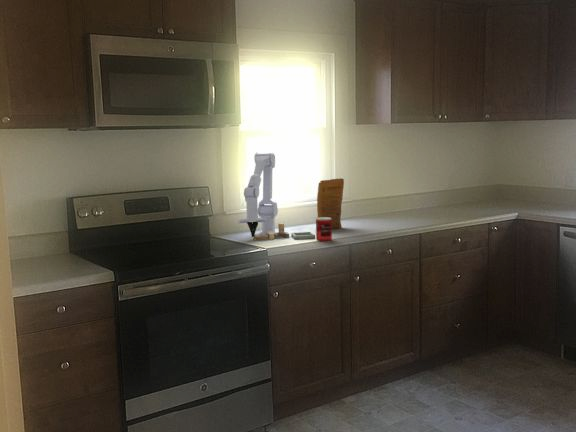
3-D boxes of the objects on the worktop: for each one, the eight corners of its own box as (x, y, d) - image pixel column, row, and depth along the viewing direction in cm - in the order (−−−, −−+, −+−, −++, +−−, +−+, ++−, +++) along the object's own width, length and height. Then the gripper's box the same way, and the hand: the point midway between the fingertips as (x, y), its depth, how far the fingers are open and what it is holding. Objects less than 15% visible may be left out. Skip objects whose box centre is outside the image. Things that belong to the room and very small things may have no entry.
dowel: (278, 236, 338) (277, 223, 337) (284, 236, 338) (283, 223, 338) (279, 237, 335) (278, 224, 334) (284, 237, 335) (284, 223, 335)
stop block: (267, 237, 337) (267, 231, 336) (272, 237, 337) (272, 231, 337) (269, 239, 329) (269, 233, 328) (274, 239, 329) (274, 233, 329)
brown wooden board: (253, 238, 336) (253, 234, 336) (265, 238, 337) (265, 233, 337) (255, 241, 327) (255, 236, 327) (267, 240, 328) (267, 236, 328)
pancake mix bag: (348, 227, 364) (347, 178, 361) (320, 231, 354) (318, 180, 351) (341, 226, 370) (340, 177, 366) (313, 229, 360) (312, 179, 357)
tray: (291, 236, 339) (291, 232, 338) (310, 235, 340) (310, 231, 340) (295, 239, 327) (295, 236, 326) (315, 238, 328) (315, 235, 328)
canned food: (322, 238, 328) (321, 216, 327) (335, 239, 323) (334, 217, 322) (313, 240, 322) (312, 218, 321) (326, 241, 317) (325, 219, 316)
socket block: (274, 236, 340) (273, 232, 339) (287, 235, 341) (287, 232, 340) (275, 238, 333) (275, 234, 332) (289, 237, 334) (289, 233, 334)
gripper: (238, 211, 325) (239, 238, 326) (267, 210, 327) (268, 237, 328) (237, 210, 332) (238, 236, 333) (265, 209, 334) (266, 235, 335)
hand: (253, 236), depth 331 cm, fingers closed
